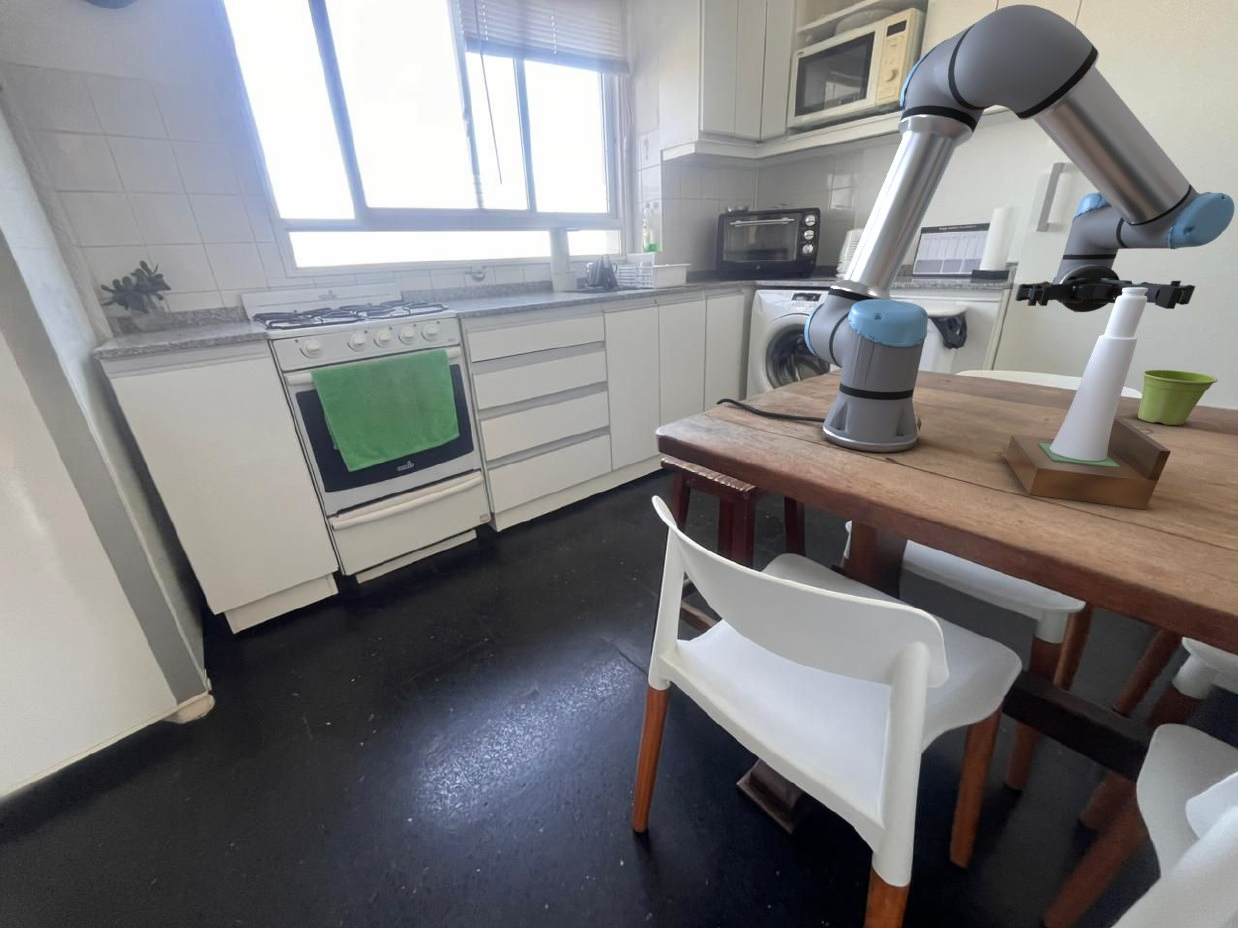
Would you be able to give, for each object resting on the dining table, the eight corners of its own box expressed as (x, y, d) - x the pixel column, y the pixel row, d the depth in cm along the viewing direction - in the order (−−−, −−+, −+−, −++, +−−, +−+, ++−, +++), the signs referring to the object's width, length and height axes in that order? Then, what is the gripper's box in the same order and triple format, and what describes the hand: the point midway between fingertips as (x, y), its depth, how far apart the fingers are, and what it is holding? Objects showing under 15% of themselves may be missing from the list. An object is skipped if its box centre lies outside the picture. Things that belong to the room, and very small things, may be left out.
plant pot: (1213, 428, 88) (1235, 380, 85) (1159, 429, 88) (1179, 382, 85) (1161, 412, 97) (1179, 369, 93) (1112, 414, 97) (1128, 370, 94)
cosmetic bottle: (1118, 459, 67) (1185, 288, 58) (1081, 464, 66) (1143, 290, 57) (1072, 444, 72) (1128, 285, 64) (1038, 448, 71) (1089, 287, 63)
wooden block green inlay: (1028, 494, 67) (1046, 439, 64) (1004, 458, 79) (1019, 410, 76) (1145, 509, 62) (1171, 451, 59) (1102, 468, 74) (1121, 417, 71)
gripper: (1178, 313, 81) (1223, 329, 66) (993, 308, 95) (993, 320, 79) (1198, 264, 79) (1249, 268, 63) (1004, 266, 92) (1006, 270, 76)
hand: (1107, 297), depth 71 cm, fingers open, 13 cm apart
